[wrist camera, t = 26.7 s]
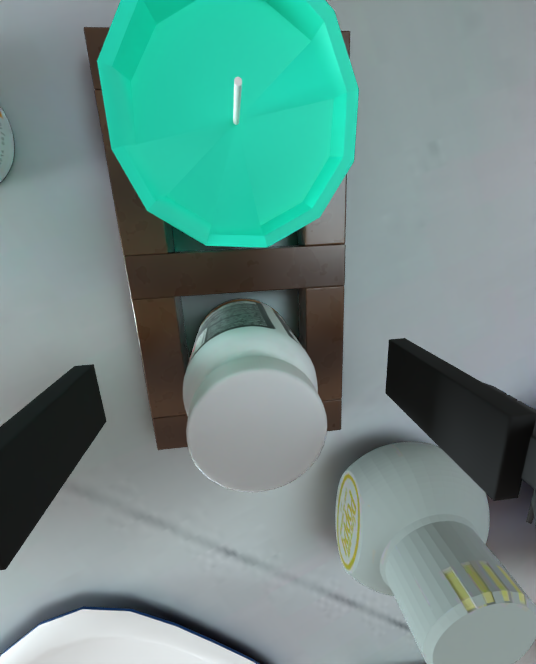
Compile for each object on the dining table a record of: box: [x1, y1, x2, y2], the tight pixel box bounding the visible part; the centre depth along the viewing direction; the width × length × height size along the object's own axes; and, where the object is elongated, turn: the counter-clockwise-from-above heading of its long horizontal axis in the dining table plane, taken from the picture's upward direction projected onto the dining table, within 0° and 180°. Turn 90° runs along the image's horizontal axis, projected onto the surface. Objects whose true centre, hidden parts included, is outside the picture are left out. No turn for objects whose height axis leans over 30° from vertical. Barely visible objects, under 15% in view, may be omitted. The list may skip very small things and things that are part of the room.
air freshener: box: [335, 442, 536, 664], centre depth 19 cm, size 11×8×10 cm
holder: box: [84, 27, 350, 450], centre depth 17 cm, size 21×11×2 cm, turn 3°
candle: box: [97, 0, 359, 248], centre depth 11 cm, size 6×6×12 cm
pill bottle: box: [183, 299, 327, 492], centre depth 15 cm, size 6×6×10 cm
